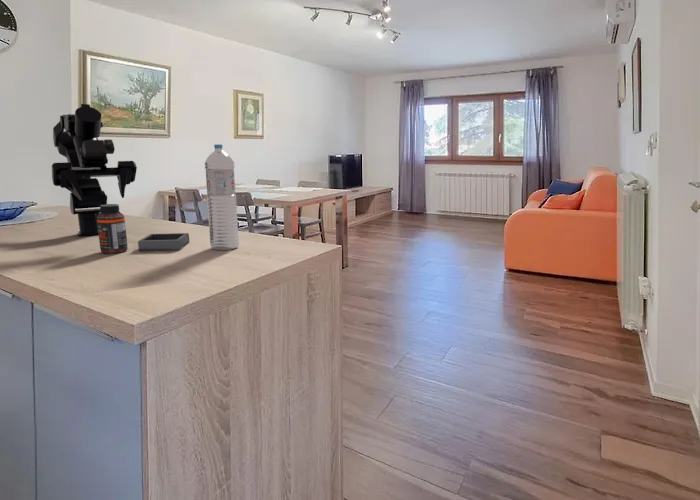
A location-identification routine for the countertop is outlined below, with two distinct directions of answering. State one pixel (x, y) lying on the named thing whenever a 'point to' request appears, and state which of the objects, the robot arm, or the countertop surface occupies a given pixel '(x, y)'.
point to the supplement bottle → (111, 229)
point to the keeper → (164, 242)
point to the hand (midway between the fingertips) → (103, 198)
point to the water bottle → (221, 200)
